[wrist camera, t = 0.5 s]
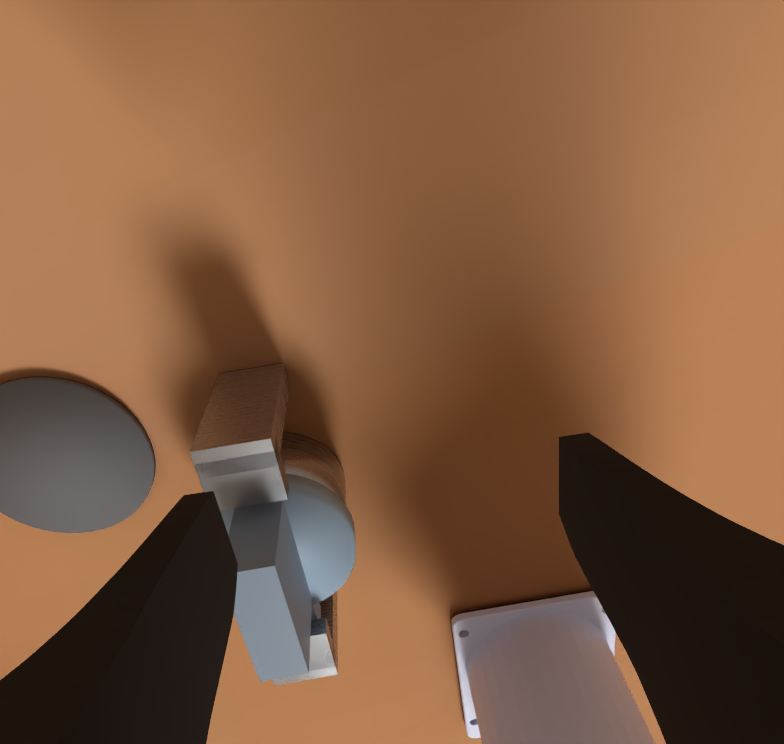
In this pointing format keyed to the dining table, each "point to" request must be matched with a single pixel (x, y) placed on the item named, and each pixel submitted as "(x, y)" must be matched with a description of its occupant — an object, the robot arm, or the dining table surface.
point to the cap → (288, 571)
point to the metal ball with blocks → (265, 470)
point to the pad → (70, 456)
